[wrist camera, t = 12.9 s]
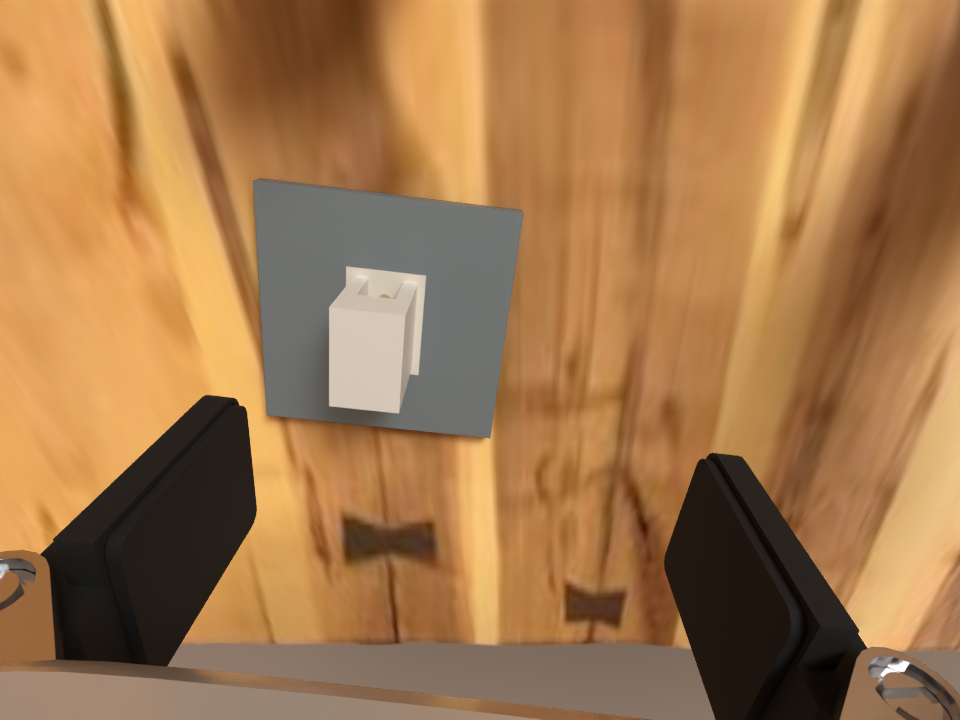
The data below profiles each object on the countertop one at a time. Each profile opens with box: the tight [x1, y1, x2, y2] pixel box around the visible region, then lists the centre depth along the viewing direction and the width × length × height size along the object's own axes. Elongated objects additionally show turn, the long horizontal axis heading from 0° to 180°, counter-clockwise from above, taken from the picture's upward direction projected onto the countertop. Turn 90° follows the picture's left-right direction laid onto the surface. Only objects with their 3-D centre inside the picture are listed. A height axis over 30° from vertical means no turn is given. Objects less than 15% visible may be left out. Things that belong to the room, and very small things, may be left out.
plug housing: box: [329, 276, 418, 413], centre depth 32 cm, size 4×6×6 cm, turn 173°
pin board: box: [253, 178, 523, 438], centre depth 34 cm, size 16×16×4 cm
